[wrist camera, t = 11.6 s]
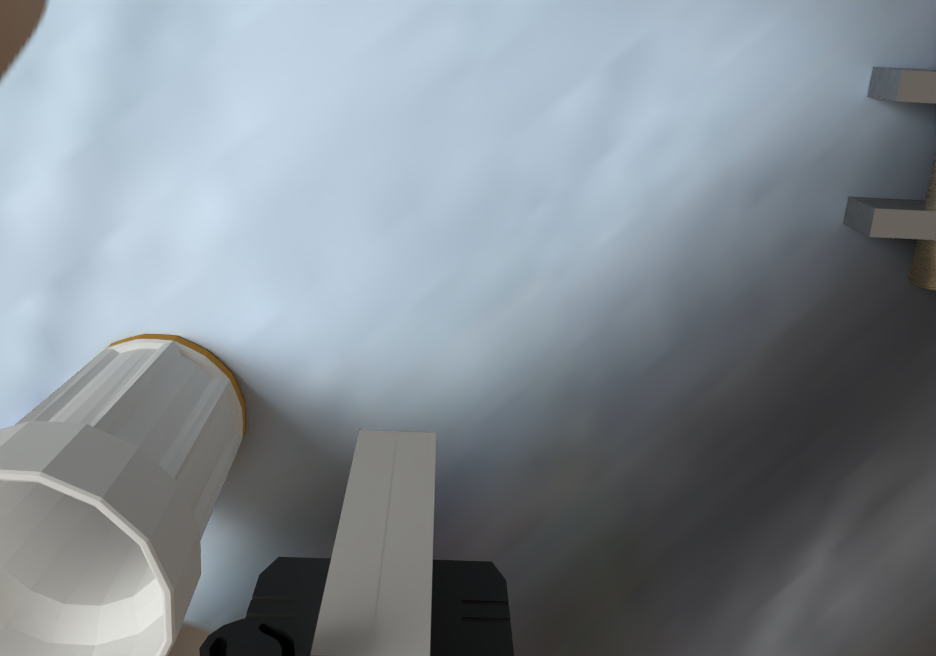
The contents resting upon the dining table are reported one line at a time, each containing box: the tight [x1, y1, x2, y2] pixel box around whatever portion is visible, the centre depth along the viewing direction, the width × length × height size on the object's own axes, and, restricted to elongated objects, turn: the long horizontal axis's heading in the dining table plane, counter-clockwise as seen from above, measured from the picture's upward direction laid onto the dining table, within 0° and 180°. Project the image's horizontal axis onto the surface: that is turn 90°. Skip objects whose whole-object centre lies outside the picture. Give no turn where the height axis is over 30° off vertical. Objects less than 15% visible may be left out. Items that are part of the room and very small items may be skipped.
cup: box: [0, 334, 246, 656], centre depth 41 cm, size 11×11×17 cm
